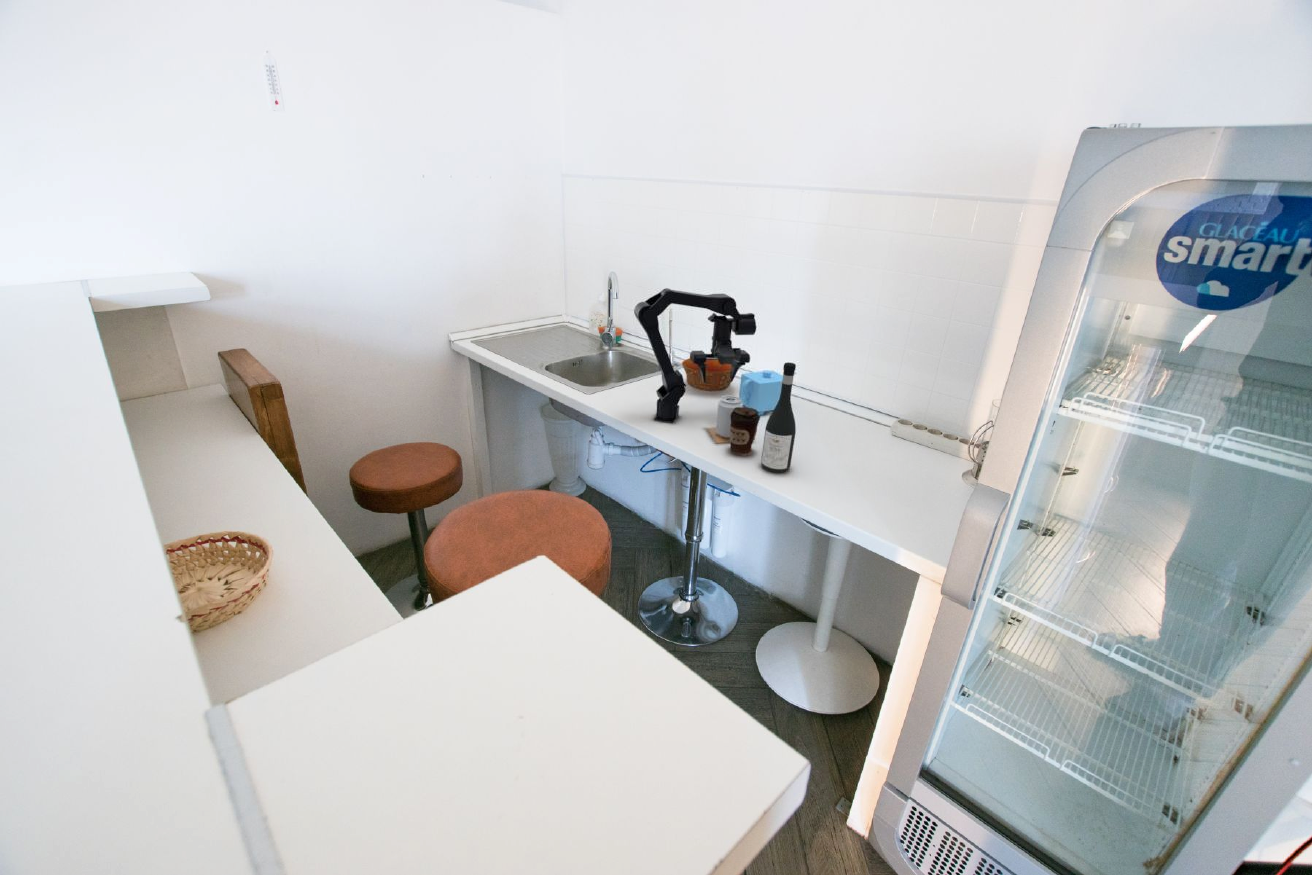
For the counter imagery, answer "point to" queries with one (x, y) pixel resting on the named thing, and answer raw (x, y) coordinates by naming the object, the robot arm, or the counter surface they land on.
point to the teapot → (761, 390)
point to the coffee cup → (743, 429)
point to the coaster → (717, 436)
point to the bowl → (708, 375)
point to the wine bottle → (780, 428)
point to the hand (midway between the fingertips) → (717, 382)
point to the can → (726, 414)
